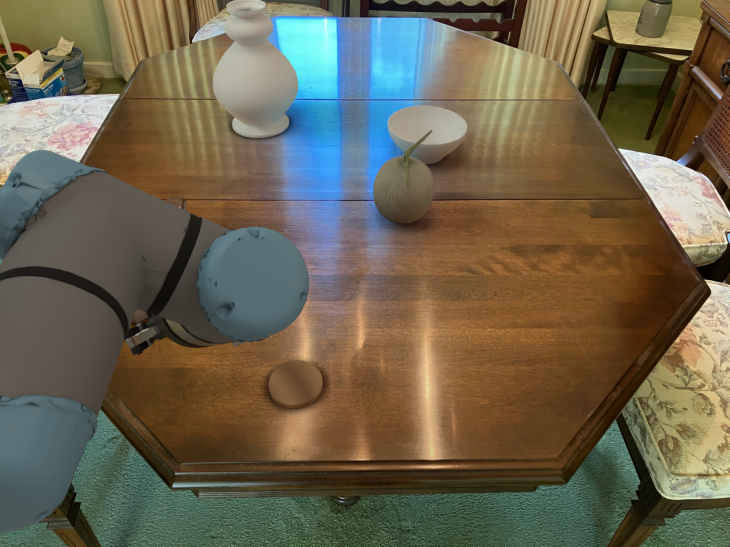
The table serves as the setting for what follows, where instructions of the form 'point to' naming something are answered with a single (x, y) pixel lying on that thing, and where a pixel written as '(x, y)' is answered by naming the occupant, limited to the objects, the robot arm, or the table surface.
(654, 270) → the table surface
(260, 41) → the decorative vase
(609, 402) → the table surface
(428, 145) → the bowl
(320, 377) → the cork trivet
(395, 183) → the fruit
